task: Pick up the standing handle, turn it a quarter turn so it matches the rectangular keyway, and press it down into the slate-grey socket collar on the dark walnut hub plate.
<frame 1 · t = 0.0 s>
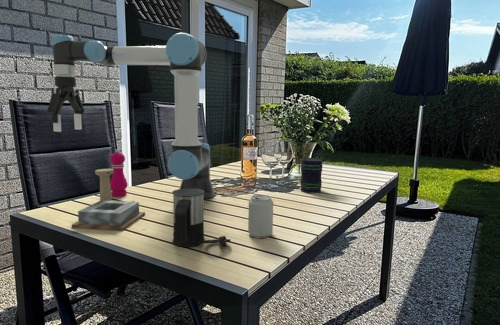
hand: (68, 130, 146), 28 cm above the table, tool pointing down, fingers open, 13 cm apart
can: (260, 235, 111), on the table
hub: (110, 220, 122), on the table
pepper mill: (119, 195, 157), on the table
handle: (106, 210, 134), on the table
milk frother: (201, 244, 103), on the table
storage jar: (310, 191, 171), on the table
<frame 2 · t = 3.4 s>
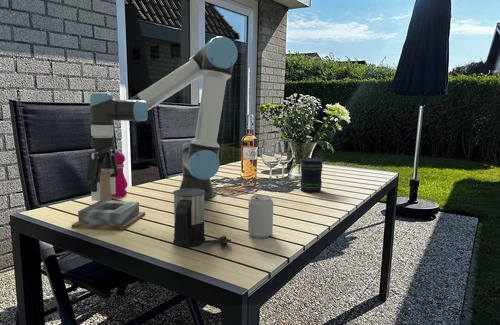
hand: (104, 197, 133), 5 cm above the table, tool pointing down, fingers open, 11 cm apart
nothing on the table moved.
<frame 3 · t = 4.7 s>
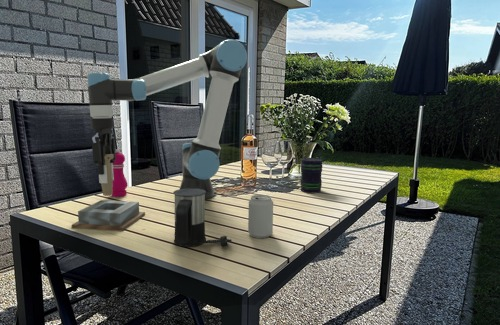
hand: (106, 181, 133), 11 cm above the table, tool pointing down, fingers closed on handle, 4 cm apart
handle: (108, 195, 134), point 5 cm above the table, touching gripper
everything else where it was.
when the fingers open (6 cm above the table, at t = 9.1 s): handle stays where it is, resting on hub.
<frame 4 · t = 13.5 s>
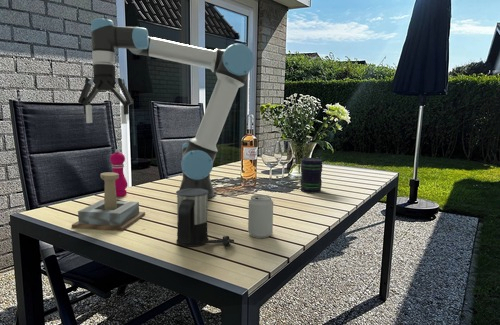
hand: (106, 123, 134), 32 cm above the table, tool pointing down, fingers open, 13 cm apart
handle: (111, 218, 122), point 1 cm above the table, touching hub
at the end: handle 0.2 cm off-centre on the hub, point 0.8 cm above the hub's base; handle tilted 0°; the gripper is holding nothing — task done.
